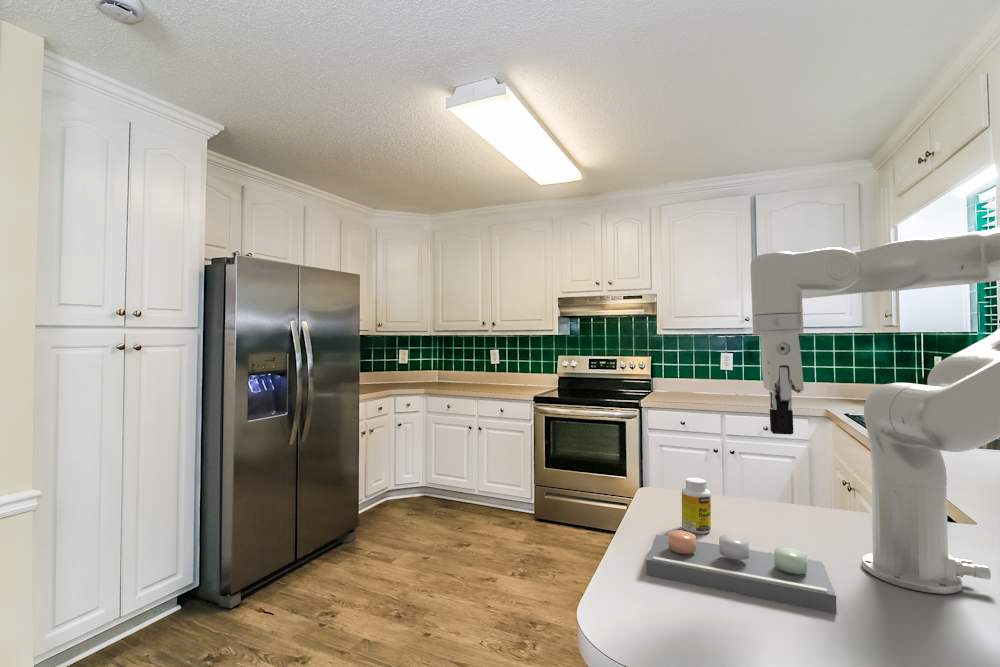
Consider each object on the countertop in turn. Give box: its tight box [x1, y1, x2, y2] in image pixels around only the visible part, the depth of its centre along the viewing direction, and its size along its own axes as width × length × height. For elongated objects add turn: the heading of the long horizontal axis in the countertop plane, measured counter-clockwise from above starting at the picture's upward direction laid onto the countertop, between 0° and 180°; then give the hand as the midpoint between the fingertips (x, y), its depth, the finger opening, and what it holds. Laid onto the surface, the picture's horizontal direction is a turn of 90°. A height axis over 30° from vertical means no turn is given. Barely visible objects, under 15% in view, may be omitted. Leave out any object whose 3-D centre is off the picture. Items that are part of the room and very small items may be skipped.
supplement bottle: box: [681, 477, 712, 535], centre depth 99 cm, size 6×6×10 cm
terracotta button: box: [667, 530, 697, 554], centre depth 83 cm, size 4×4×2 cm
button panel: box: [645, 534, 837, 614], centre depth 79 cm, size 26×12×3 cm, turn 64°
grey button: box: [718, 534, 750, 560], centre depth 79 cm, size 4×4×2 cm
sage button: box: [773, 546, 808, 574], centre depth 76 cm, size 4×4×2 cm
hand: (781, 433), depth 82 cm, fingers closed
